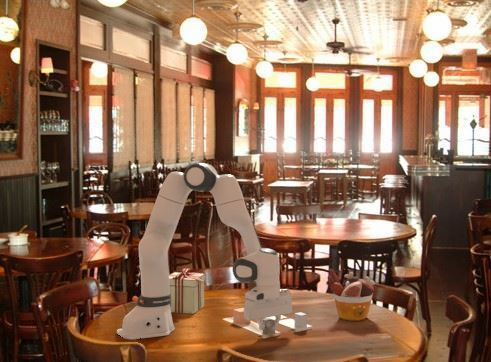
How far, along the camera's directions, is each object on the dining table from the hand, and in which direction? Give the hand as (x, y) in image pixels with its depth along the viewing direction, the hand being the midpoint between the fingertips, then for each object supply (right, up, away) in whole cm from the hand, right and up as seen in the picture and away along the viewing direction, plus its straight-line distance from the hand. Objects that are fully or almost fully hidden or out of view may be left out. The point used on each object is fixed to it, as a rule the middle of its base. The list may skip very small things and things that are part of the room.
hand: (268, 328), depth 252 cm
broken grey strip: (+6, -2, +19) cm, 20 cm away
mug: (-1, 0, +56) cm, 56 cm away
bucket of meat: (+35, -1, +25) cm, 43 cm away
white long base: (-7, -2, +11) cm, 13 cm away
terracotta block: (-10, -1, +16) cm, 19 cm away
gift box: (-34, -2, +45) cm, 56 cm away
